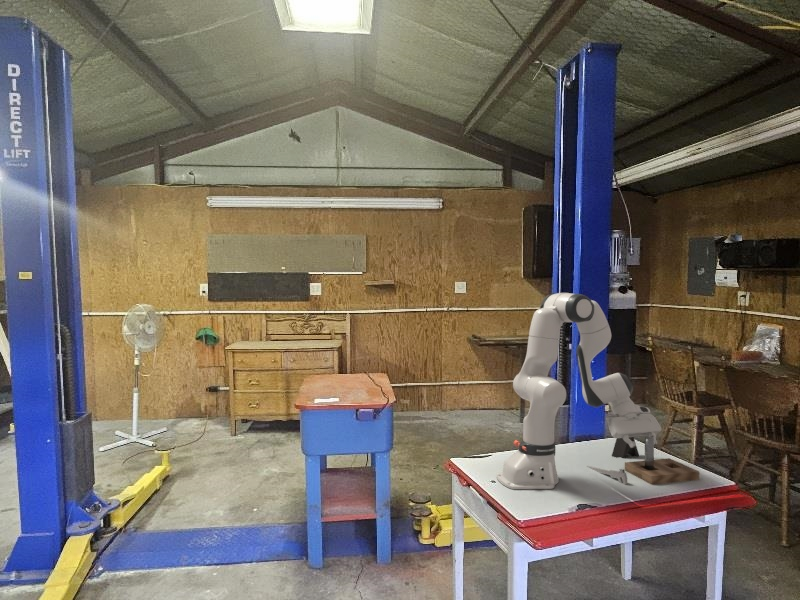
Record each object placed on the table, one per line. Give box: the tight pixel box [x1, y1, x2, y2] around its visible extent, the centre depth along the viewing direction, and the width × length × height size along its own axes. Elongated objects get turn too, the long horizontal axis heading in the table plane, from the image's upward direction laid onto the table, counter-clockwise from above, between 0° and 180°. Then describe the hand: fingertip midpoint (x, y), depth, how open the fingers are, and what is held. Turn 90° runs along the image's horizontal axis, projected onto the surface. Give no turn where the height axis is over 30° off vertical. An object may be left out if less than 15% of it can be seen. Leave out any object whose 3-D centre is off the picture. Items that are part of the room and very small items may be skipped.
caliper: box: [586, 465, 628, 486], centre depth 176 cm, size 20×1×6 cm, turn 20°
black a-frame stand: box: [611, 437, 640, 459], centre depth 197 cm, size 9×6×12 cm, turn 106°
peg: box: [644, 436, 655, 471], centre depth 174 cm, size 3×3×14 cm
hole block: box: [624, 457, 700, 486], centre depth 175 cm, size 20×14×4 cm
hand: (644, 446), depth 177 cm, fingers open, 8 cm apart
